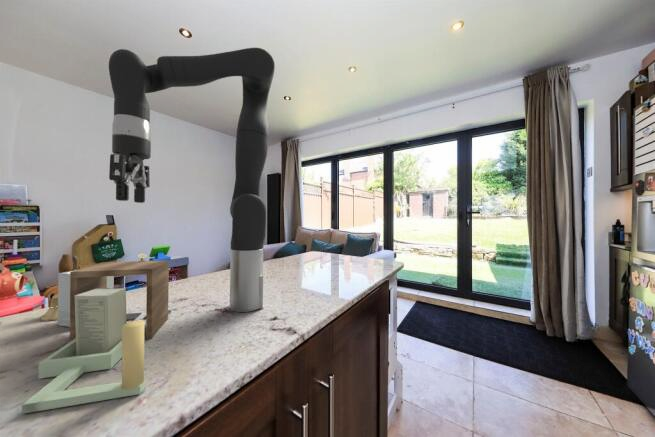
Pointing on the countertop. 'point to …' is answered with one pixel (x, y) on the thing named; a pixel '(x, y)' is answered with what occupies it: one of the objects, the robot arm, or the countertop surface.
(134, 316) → the pair of grey pads
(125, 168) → the robot arm
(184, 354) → the countertop surface
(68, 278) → the supplement box
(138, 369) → the green zigzag lever
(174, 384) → the countertop surface
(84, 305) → the skincare box
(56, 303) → the hand bell
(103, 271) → the brown hollow box
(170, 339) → the countertop surface
